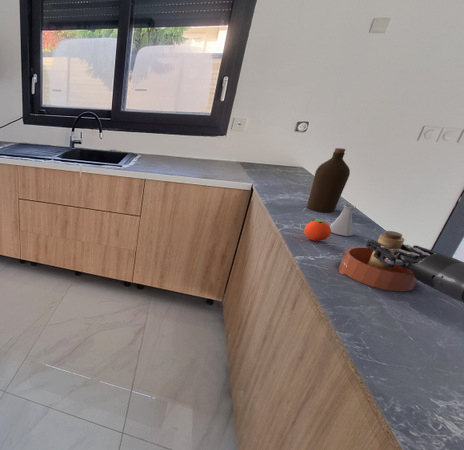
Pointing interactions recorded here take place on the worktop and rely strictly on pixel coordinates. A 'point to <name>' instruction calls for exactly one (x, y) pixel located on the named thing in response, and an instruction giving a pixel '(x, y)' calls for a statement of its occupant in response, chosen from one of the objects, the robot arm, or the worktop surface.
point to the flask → (344, 222)
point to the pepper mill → (388, 240)
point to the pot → (375, 271)
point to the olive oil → (329, 183)
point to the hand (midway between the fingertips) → (377, 242)
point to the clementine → (317, 230)
